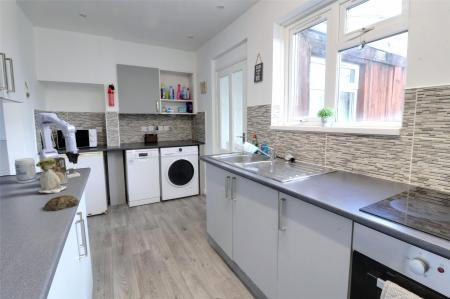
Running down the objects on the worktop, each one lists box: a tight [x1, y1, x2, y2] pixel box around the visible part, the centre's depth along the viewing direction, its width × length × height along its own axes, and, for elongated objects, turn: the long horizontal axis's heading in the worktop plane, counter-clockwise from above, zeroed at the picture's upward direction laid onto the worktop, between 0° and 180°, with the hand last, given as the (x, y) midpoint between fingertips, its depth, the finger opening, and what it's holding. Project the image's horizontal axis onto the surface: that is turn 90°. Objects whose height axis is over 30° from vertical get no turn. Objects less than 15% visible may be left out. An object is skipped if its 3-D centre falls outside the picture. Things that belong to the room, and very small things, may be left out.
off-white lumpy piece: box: [35, 158, 67, 194], centre depth 124 cm, size 12×13×18 cm
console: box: [67, 170, 81, 179], centre depth 158 cm, size 16×13×4 cm
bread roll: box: [44, 194, 79, 212], centre depth 104 cm, size 13×12×5 cm
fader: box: [68, 167, 75, 174], centre depth 158 cm, size 2×2×4 cm
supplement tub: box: [14, 157, 38, 184], centre depth 145 cm, size 10×10×15 cm
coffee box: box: [51, 156, 69, 186], centre depth 138 cm, size 9×6×16 cm
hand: (73, 163), depth 153 cm, fingers open, 7 cm apart
